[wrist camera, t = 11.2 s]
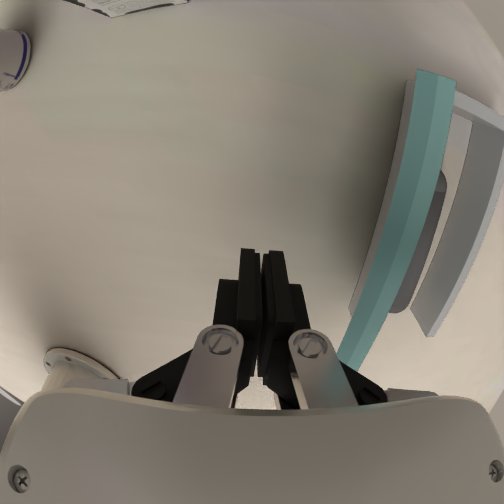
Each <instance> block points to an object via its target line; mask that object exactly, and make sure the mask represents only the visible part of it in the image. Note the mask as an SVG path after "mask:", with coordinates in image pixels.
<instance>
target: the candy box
mask: <svg viewBox="0 0 504 504" xmlns="http://www.w3.org/2000/svg"><path fill="white" fill-rule="evenodd" d="M64 1H68V2H71V3H73V4H76V5H79V6H82V7H85V8H88V9H91V10H93V11H95V12H98V13H101V14H103V15H105V16H108V17H111V18H112V17H117V16H121V15H125V14H129V13H133V12H138V11H141V10H146V9H151V8H157V7H164V6H170V5H176V4H183V3H187V2H188V1H189V0H64Z"/></svg>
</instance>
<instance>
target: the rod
mask: <svg viewBox="0 0 504 504" xmlns="http://www.w3.org/2000/svg"><path fill="white" fill-rule="evenodd" d="M446 190H447V182H446V178H445V176H444V174H443V172H442V171H441V170H440V172H439V176H438V180H437V184H436V187H435V191H434V194H433V198H432V201H431V204H430V208H429V211H428V214H427V217H426V220H425V223H424V226H423V229H422V232H421V235H420V238H419V240H418V243H417V246H416V249H415V251H414V254H413V256H412V259H411V262H410V264H409V267H408V269H407V272H406V274H405V276H404V279H403V281H402V283H401V286H400V288H399V290H398V293H397V295H396V297H395V299H394V302H393V304H392V306H391V308H390V310H389V313H398V312H401V311H403V310H404V309H405V308H406V307H407V306H408V304H409V303H410V300H411V298H412V296H413V293H414V291H415V288H416V286H417V283H418V280H419V278H420V275H421V272H422V270H423V267H424V264H425V261H426V259H427V256H428V253H429V250H430V247H431V244H432V241H433V237H434V234H435V231H436V228H437V224H438V221H439V217H440V214H441V210H442V206H443V202H444V198H445V194H446Z"/></svg>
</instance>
